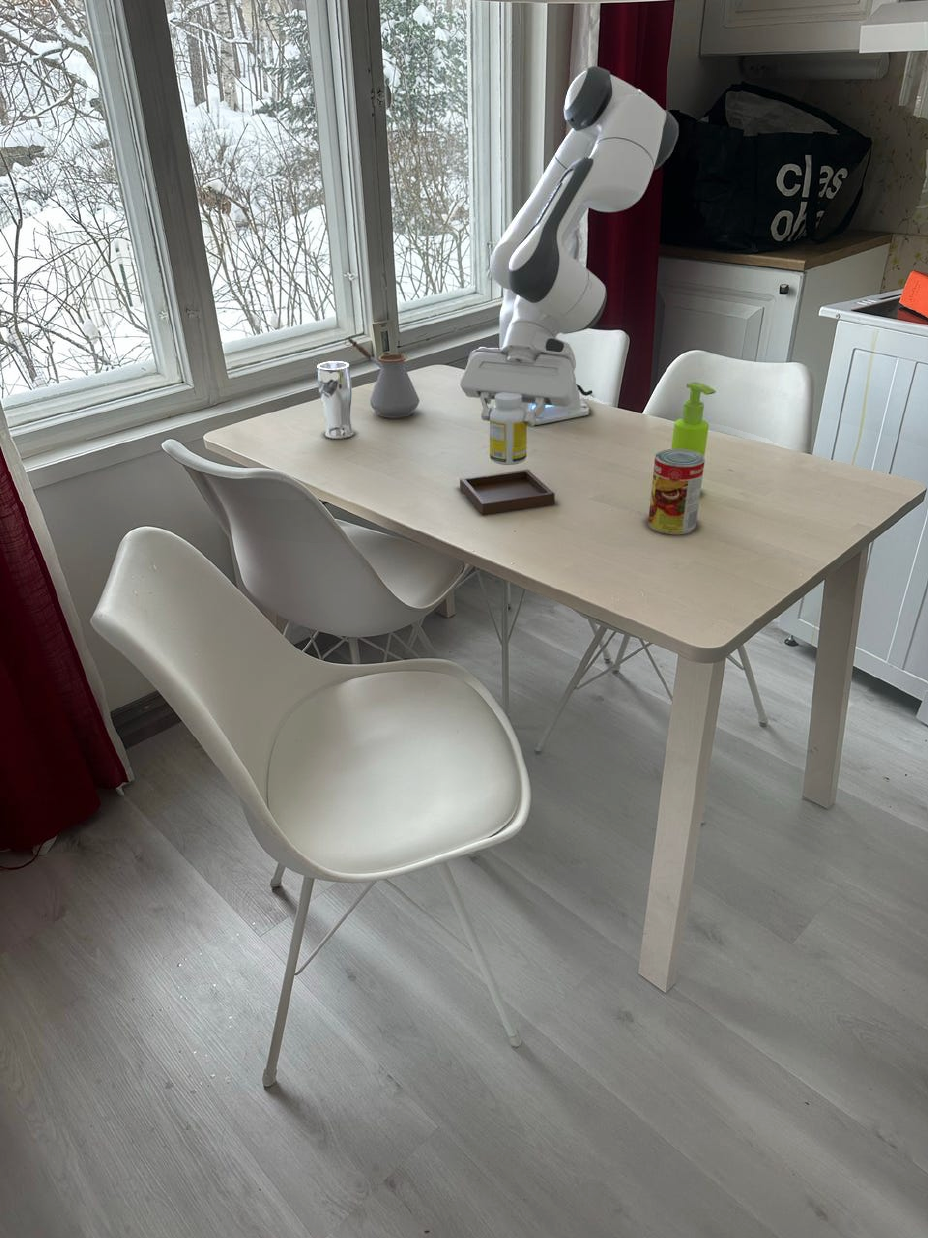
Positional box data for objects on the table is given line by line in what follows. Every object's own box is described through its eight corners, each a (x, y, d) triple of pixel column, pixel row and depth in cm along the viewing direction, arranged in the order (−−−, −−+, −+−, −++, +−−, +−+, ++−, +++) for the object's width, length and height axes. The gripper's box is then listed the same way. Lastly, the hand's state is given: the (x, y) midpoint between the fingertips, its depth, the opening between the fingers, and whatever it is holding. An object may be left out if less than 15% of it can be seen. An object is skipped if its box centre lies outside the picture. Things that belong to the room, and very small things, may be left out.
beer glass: (353, 439, 184) (347, 369, 177) (320, 439, 185) (313, 369, 177) (357, 429, 190) (351, 360, 183) (326, 429, 191) (319, 361, 183)
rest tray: (527, 479, 163) (528, 469, 162) (554, 504, 153) (554, 493, 152) (460, 489, 160) (459, 478, 159) (482, 515, 150) (482, 503, 148)
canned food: (657, 511, 150) (664, 445, 144) (701, 520, 146) (710, 453, 140) (641, 528, 144) (648, 460, 138) (687, 538, 140) (696, 468, 134)
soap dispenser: (684, 503, 153) (698, 391, 142) (659, 490, 158) (671, 381, 148) (709, 497, 155) (725, 386, 145) (684, 484, 160) (698, 377, 150)
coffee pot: (430, 412, 200) (427, 346, 193) (393, 423, 193) (389, 356, 186) (369, 394, 213) (365, 332, 205) (333, 405, 206) (327, 341, 198)
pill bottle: (530, 455, 155) (531, 391, 149) (520, 468, 149) (521, 402, 143) (495, 452, 156) (495, 388, 150) (485, 464, 151) (484, 399, 145)
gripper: (467, 336, 152) (446, 406, 149) (579, 345, 145) (559, 418, 142) (477, 356, 158) (457, 423, 155) (584, 365, 151) (566, 436, 148)
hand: (507, 421), depth 149 cm, fingers closed on pill bottle, 6 cm apart
